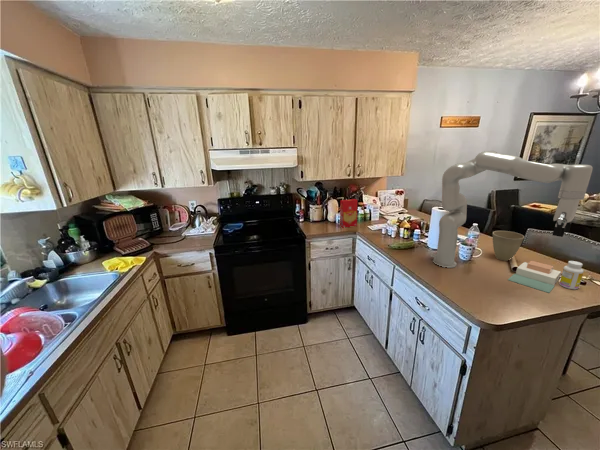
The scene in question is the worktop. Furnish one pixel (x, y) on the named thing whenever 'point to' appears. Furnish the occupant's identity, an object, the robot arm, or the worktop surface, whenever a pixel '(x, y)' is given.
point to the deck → (538, 274)
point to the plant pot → (506, 244)
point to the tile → (540, 267)
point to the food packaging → (348, 213)
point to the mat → (531, 283)
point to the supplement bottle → (571, 275)
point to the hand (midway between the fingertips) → (560, 233)
